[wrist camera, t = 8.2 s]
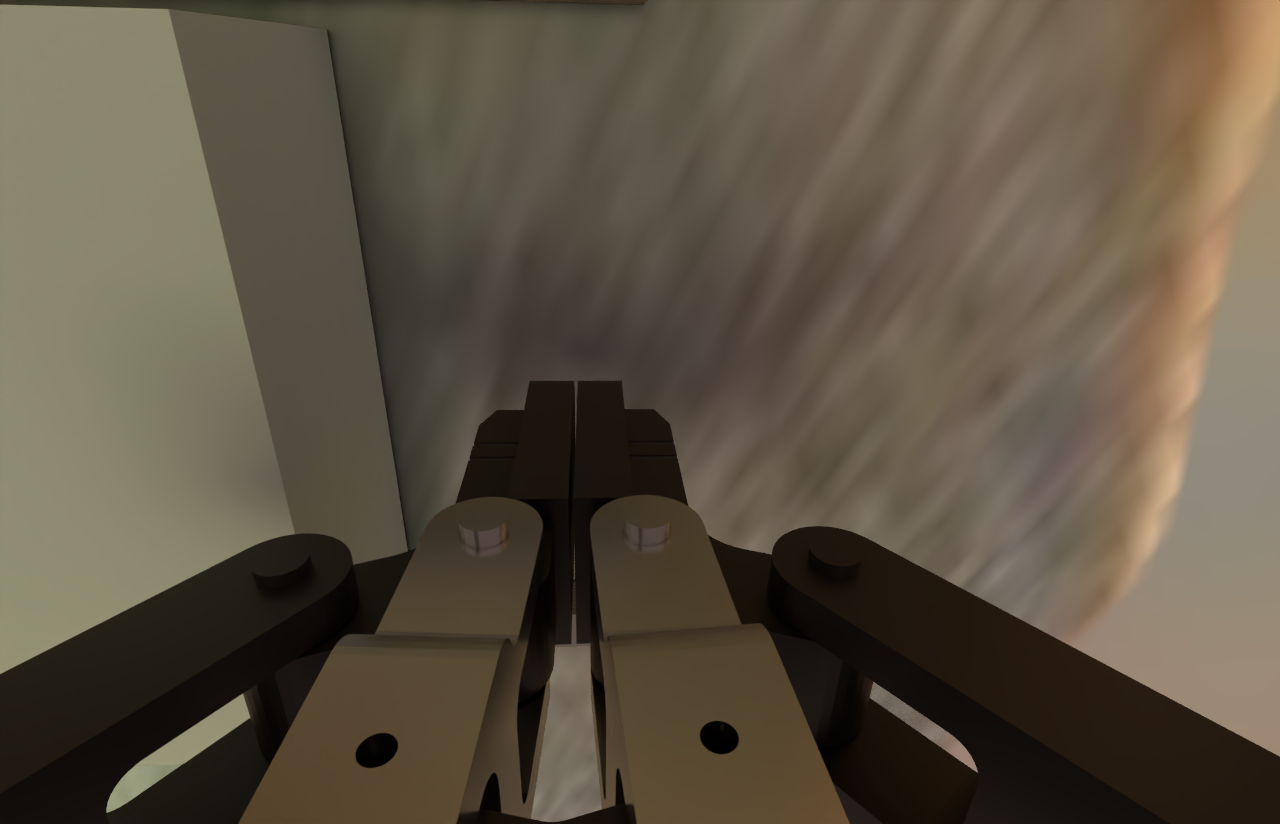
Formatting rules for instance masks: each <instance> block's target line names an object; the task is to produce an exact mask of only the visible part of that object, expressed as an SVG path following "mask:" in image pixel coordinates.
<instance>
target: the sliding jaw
mask: <svg viewBox="0 0 1280 824" xmlns="http://www.w3.org/2000/svg"><path fill="white" fill-rule="evenodd" d="M303 533H312V534H322V535H327V536H331V537H334V538H336V539H338V540H340V541H342V542H343V543H344V544H346V546H347V547H348V548H349V549H350V552H351V555H352V559H353V564H358V563H363V562H367V561H372V560H376V559H381V558H385V557H390V556H394V555H397V554H401V553H404V552H407V551H408V548H407V542H406V535H405V529H404V523H403V516H402V510H401V503H400V497H399V491H398V484H397V478H396V471H395V465H394V458H393V452H392V446H391V439H390V433H389V426H388V420H387V414H386V407H385V401H384V394H383V388H382V381H381V375H380V369H379V362H378V356H377V349H376V343H375V336H374V330H373V324H372V317H371V311H370V304H369V298H368V292H367V285H366V279H365V272H364V266H363V259H362V253H361V247H360V240H359V234H358V227H357V221H356V215H355V208H354V202H353V195H352V189H351V182H350V176H349V170H348V163H347V157H346V150H345V144H344V137H343V131H342V125H341V118H340V112H339V105H338V99H337V93H336V86H335V80H334V73H333V67H332V60H331V54H330V48H329V41H328V35H327V29H323V28H315V27H307V26H299V25H291V24H283V23H275V22H267V21H259V20H251V19H243V18H235V17H227V16H219V15H211V14H203V13H195V12H188V11H180V10H172V9H146V8H109V7H72V6H35V5H0V674H1V673H3V672H5V671H7V670H9V669H11V668H13V667H15V666H17V665H19V664H21V663H23V662H25V661H27V660H29V659H31V658H33V657H35V656H37V655H39V654H41V653H42V652H44V651H46V650H48V649H50V648H52V647H54V646H56V645H58V644H60V643H62V642H64V641H66V640H68V639H70V638H72V637H74V636H76V635H78V634H80V633H82V632H84V631H86V630H88V629H90V628H92V627H94V626H96V625H98V624H100V623H102V622H104V621H106V620H108V619H110V618H112V617H113V616H115V615H117V614H119V613H121V612H123V611H125V610H127V609H129V608H131V607H133V606H135V605H137V604H139V603H141V602H143V601H145V600H147V599H149V598H151V597H153V596H155V595H157V594H159V593H161V592H163V591H165V590H167V589H169V588H171V587H173V586H175V585H177V584H179V583H181V582H183V581H184V580H186V579H188V578H190V577H192V576H194V575H196V574H198V573H200V572H202V571H204V570H206V569H208V568H210V567H212V566H214V565H216V564H218V563H220V562H222V561H224V560H226V559H228V558H230V557H232V556H234V555H236V554H238V553H240V552H242V551H244V550H246V549H248V548H250V547H252V546H254V545H256V544H259V543H261V542H264V541H267V540H270V539H273V538H277V537H281V536H286V535H292V534H303ZM249 718H250V715H249V712H248V708H247V705H246V702H245V699H244V696H243V694H241V695H240V696H238V697H237V698H235V699H234V700H232V701H231V702H229V703H228V704H226V705H225V706H223V707H222V708H220V709H219V710H217V711H216V712H214V713H213V714H211V715H210V716H208V717H207V718H205V719H204V720H202V721H201V722H199V723H198V724H196V725H194V726H193V727H191V728H190V729H188V730H187V731H185V732H184V733H182V734H181V735H179V736H178V737H176V738H175V739H173V740H172V741H170V742H169V743H167V744H166V745H164V746H163V747H161V748H160V749H158V750H157V751H155V752H154V753H152V754H151V755H149V756H148V757H146V758H145V759H143V760H142V761H140V762H139V763H138V764H136V765H135V766H148V765H171V764H184V763H186V762H187V761H188V760H190V759H191V758H193V757H194V756H196V755H197V754H199V753H200V752H201V751H203V750H204V749H206V748H207V747H209V746H210V745H212V744H213V743H214V742H216V741H217V740H219V739H220V738H222V737H223V736H225V735H226V734H227V733H229V732H230V731H232V730H233V729H235V728H236V727H238V726H239V725H240V724H242V723H243V722H245V721H246V720H248V719H249Z"/></svg>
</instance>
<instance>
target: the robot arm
mask: <svg viewBox="0 0 1280 824" xmlns="http://www.w3.org/2000/svg"><path fill="white" fill-rule="evenodd" d="M574 544H575V591H576V644H589V643H590V648H591V702H592V712H593V722H594V733H595V743H596V753H597V764H598V774H599V784H600V795H601V805H602V810H599V811H595V812H592V813H589V814H585V815H582V816H579V817H575V818H572V819H569V820H565V821H560V822H543V821H538V820H533V819H531V814H532V808H533V801H534V795H535V788H536V782H537V776H538V769H539V763H540V756H541V750H542V743H543V737H544V731H545V724H546V718H547V711H548V705H549V698H550V679H549V678H550V676H551V673H552V671H553V666H554V653H555V645H563V644H571V643H572V610H573V577H574ZM873 681H874V682H875V683H876V684H878V685H879V686H881V687H882V688H884V689H885V690H887V691H888V692H890V693H891V694H893V695H894V696H896V697H897V698H899V699H900V700H902V701H903V702H905V703H906V704H907V705H909V706H910V707H912V708H913V709H915V710H916V711H918V712H919V713H921V714H922V715H924V716H925V717H927V718H928V719H930V720H931V721H933V722H934V723H936V724H937V725H939V726H940V727H941V728H943V729H944V730H946V731H947V732H949V733H950V734H951V735H953V736H954V737H955V738H956V739H957V740H959V741H960V742H961V743H962V745H963V746H964V747H965V748H966V749H967V751H968V752H969V753H970V755H971V756H972V758H973V760H974V762H975V765H976V767H977V770H978V773H977V772H976V771H974V770H972V769H971V768H970V767H968V766H967V765H965V764H964V763H962V762H961V761H959V760H958V759H957V758H955V757H954V756H952V755H951V754H949V753H948V752H947V751H945V750H944V749H942V748H941V747H939V746H938V745H937V744H935V743H934V742H932V741H931V740H929V739H928V738H926V737H925V736H924V735H922V734H921V733H919V732H918V731H916V730H915V729H914V728H912V727H911V726H909V725H908V724H906V723H905V722H904V721H902V720H901V719H899V718H898V717H896V716H895V715H893V714H892V713H891V712H889V711H888V710H886V709H885V708H883V707H882V706H881V705H879V704H878V703H876V702H875V701H873V700H872V699H871V698H870V693H871V689H872V685H873ZM241 694H243V696H244V699H245V702H246V705H247V708H248V712H249V715H250V718H249V719H248V720H246V721H245V722H243V723H242V724H240V725H239V726H238V727H236V728H235V729H233V730H232V731H230V732H229V733H227V734H226V735H225V736H223V737H222V738H220V739H219V740H217V741H216V742H214V743H213V744H212V745H210V746H209V747H207V748H206V749H204V750H203V751H201V752H200V753H199V754H197V755H196V756H194V757H193V758H191V759H190V760H188V761H187V762H186V763H184V764H183V765H181V766H180V767H178V768H177V769H175V770H174V771H173V772H171V773H170V774H168V775H167V776H165V777H164V778H162V779H161V780H160V781H158V782H157V783H155V784H154V785H152V786H151V787H149V788H148V789H147V790H145V791H144V792H142V793H141V794H139V795H138V796H136V797H135V798H134V799H132V800H131V801H129V802H128V803H126V804H125V805H123V806H121V807H120V808H118V809H116V810H114V811H111V812H108V813H106V807H107V803H108V800H109V797H110V795H111V793H112V791H113V789H114V788H115V786H116V785H117V784H118V782H119V781H120V780H121V778H122V777H123V776H124V775H125V774H126V773H127V772H128V771H129V770H130V769H131V768H133V767H134V766H135V765H136V764H138V763H139V762H140V761H142V760H143V759H145V758H146V757H148V756H149V755H151V754H152V753H154V752H155V751H157V750H158V749H160V748H161V747H163V746H164V745H166V744H167V743H169V742H170V741H172V740H173V739H175V738H176V737H178V736H179V735H181V734H182V733H184V732H185V731H187V730H188V729H190V728H191V727H193V726H194V725H196V724H198V723H199V722H201V721H202V720H204V719H205V718H207V717H208V716H210V715H211V714H213V713H214V712H216V711H217V710H219V709H220V708H222V707H223V706H225V705H226V704H228V703H229V702H231V701H232V700H234V699H235V698H237V697H238V696H240V695H241ZM0 824H1280V757H1279V756H1277V755H1276V754H1274V753H1272V752H1270V751H1268V750H1266V749H1264V748H1262V747H1260V746H1259V745H1256V744H1255V743H1253V742H1251V741H1249V740H1247V739H1245V738H1243V737H1242V736H1240V735H1238V734H1236V733H1234V732H1232V731H1230V730H1228V729H1226V728H1224V727H1222V726H1220V725H1219V724H1217V723H1215V722H1213V721H1211V720H1209V719H1207V718H1205V717H1204V716H1202V715H1200V714H1198V713H1196V712H1194V711H1192V710H1190V709H1189V708H1187V707H1185V706H1183V705H1181V704H1179V703H1177V702H1175V701H1173V700H1172V699H1170V698H1168V697H1166V696H1164V695H1162V694H1160V693H1158V692H1156V691H1154V690H1153V689H1151V688H1149V687H1147V686H1145V685H1143V684H1141V683H1139V682H1138V681H1136V680H1134V679H1132V678H1130V677H1128V676H1126V675H1124V674H1122V673H1120V672H1118V671H1116V670H1115V669H1113V668H1111V667H1109V666H1107V665H1105V664H1103V663H1102V662H1100V661H1098V660H1096V659H1094V658H1092V657H1090V656H1088V655H1086V654H1085V653H1082V652H1081V651H1079V650H1077V649H1075V648H1073V647H1071V646H1069V645H1068V644H1066V643H1064V642H1062V641H1060V640H1058V639H1056V638H1054V637H1052V636H1051V635H1049V634H1047V633H1045V632H1043V631H1041V630H1039V629H1037V628H1035V627H1033V626H1032V625H1030V624H1028V623H1026V622H1024V621H1022V620H1020V619H1018V618H1016V617H1015V616H1013V615H1011V614H1009V613H1007V612H1005V611H1003V610H1001V609H999V608H998V607H996V606H994V605H992V604H990V603H988V602H986V601H984V600H982V599H981V598H979V597H977V596H975V595H973V594H971V593H969V592H967V591H965V590H964V589H962V588H960V587H958V586H956V585H954V584H952V583H950V582H948V581H946V580H945V579H943V578H941V577H939V576H937V575H935V574H933V573H931V572H929V571H928V570H926V569H924V568H922V567H920V566H918V565H916V564H914V563H912V562H911V561H909V560H907V559H905V558H903V557H901V556H899V555H897V554H895V553H894V552H892V551H890V550H888V549H886V548H884V547H882V546H880V545H878V544H877V543H875V542H873V541H871V540H869V539H867V538H865V537H863V536H861V535H858V534H856V533H853V532H850V531H847V530H843V529H839V528H832V527H822V526H814V527H804V528H799V529H796V530H792V531H790V532H788V533H786V534H784V535H783V536H782V537H780V538H779V539H778V541H777V542H776V543H775V545H774V547H773V551H772V555H771V554H766V553H761V552H755V551H750V550H745V549H741V548H737V547H733V546H730V545H727V544H724V543H722V542H720V541H718V540H716V539H714V538H712V537H711V536H709V535H708V534H707V532H706V529H705V526H704V524H703V521H702V520H701V518H700V516H699V515H698V514H697V513H696V512H695V511H694V510H693V509H691V508H690V507H689V506H688V503H687V499H686V494H685V490H684V485H683V481H682V477H681V472H680V468H679V463H678V459H677V454H676V450H675V445H674V443H673V436H672V432H671V427H670V424H669V423H668V422H667V421H666V420H665V419H664V418H663V417H662V416H661V415H659V414H658V413H657V412H656V411H655V410H654V409H625V408H624V399H623V389H622V381H578V393H577V422H576V443H575V387H574V381H530V382H529V387H528V393H527V398H526V403H525V409H524V410H497V411H496V412H494V413H493V414H492V415H491V416H490V417H488V418H487V419H486V420H485V421H484V422H483V423H481V424H480V425H479V428H478V431H477V435H476V438H475V441H474V446H473V448H472V451H471V455H470V461H468V464H467V468H466V471H465V474H464V478H463V481H462V484H461V488H460V491H459V494H458V497H457V501H456V504H454V505H452V506H449V507H448V508H446V509H444V510H442V511H441V512H440V513H438V514H437V515H436V516H434V518H433V519H432V520H431V521H430V522H429V523H428V525H427V527H426V528H425V531H424V533H423V535H422V537H421V539H420V541H419V543H418V545H417V547H416V548H415V549H412V550H410V551H407V552H404V553H401V554H397V555H394V556H390V557H385V558H381V559H376V560H372V561H367V562H363V563H358V564H353V559H352V555H351V552H350V549H349V548H348V547H347V546H346V544H344V543H343V542H342V541H340V540H338V539H336V538H334V537H331V536H327V535H322V534H312V533H303V534H292V535H286V536H281V537H277V538H273V539H270V540H267V541H264V542H261V543H259V544H256V545H254V546H252V547H250V548H248V549H246V550H244V551H242V552H240V553H238V554H236V555H234V556H232V557H230V558H228V559H226V560H224V561H222V562H220V563H218V564H216V565H214V566H212V567H210V568H208V569H206V570H204V571H202V572H200V573H198V574H196V575H194V576H192V577H190V578H188V579H186V580H184V581H183V582H181V583H179V584H177V585H175V586H173V587H171V588H169V589H167V590H165V591H163V592H161V593H159V594H157V595H155V596H153V597H151V598H149V599H147V600H145V601H143V602H141V603H139V604H137V605H135V606H133V607H131V608H129V609H127V610H125V611H123V612H121V613H119V614H117V615H115V616H113V617H112V618H110V619H108V620H106V621H104V622H102V623H100V624H98V625H96V626H94V627H92V628H90V629H88V630H86V631H84V632H82V633H80V634H78V635H76V636H74V637H72V638H70V639H68V640H66V641H64V642H62V643H60V644H58V645H56V646H54V647H52V648H50V649H48V650H46V651H44V652H42V653H41V654H39V655H37V656H35V657H33V658H31V659H29V660H27V661H25V662H23V663H21V664H19V665H17V666H15V667H13V668H11V669H9V670H7V671H5V672H3V673H1V674H0Z"/></svg>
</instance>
